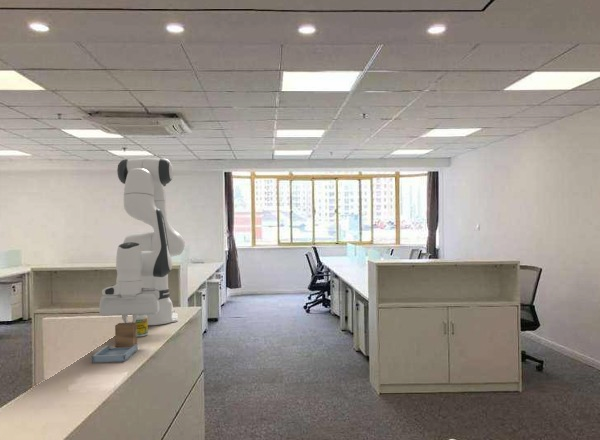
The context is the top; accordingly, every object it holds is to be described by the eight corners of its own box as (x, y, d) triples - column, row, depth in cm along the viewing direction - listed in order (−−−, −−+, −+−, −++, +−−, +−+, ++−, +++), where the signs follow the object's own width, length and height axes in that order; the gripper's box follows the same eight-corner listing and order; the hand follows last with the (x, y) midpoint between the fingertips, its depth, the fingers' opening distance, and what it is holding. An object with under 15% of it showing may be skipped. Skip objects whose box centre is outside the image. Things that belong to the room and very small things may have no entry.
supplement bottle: (145, 332, 177) (145, 308, 177) (149, 335, 173) (149, 310, 173) (131, 334, 174) (131, 309, 174) (134, 337, 170) (134, 311, 170)
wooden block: (119, 345, 158) (119, 322, 158) (136, 345, 159) (136, 322, 159) (115, 349, 154) (115, 325, 154) (133, 348, 155) (133, 324, 155)
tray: (107, 350, 152) (107, 344, 152) (137, 349, 153) (137, 343, 153) (91, 363, 139) (91, 356, 139) (125, 361, 139) (124, 355, 139)
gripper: (161, 286, 165) (162, 324, 165) (103, 288, 164) (104, 326, 164) (157, 288, 159) (157, 328, 159) (97, 290, 158) (97, 330, 157)
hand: (130, 327), depth 161 cm, fingers closed
